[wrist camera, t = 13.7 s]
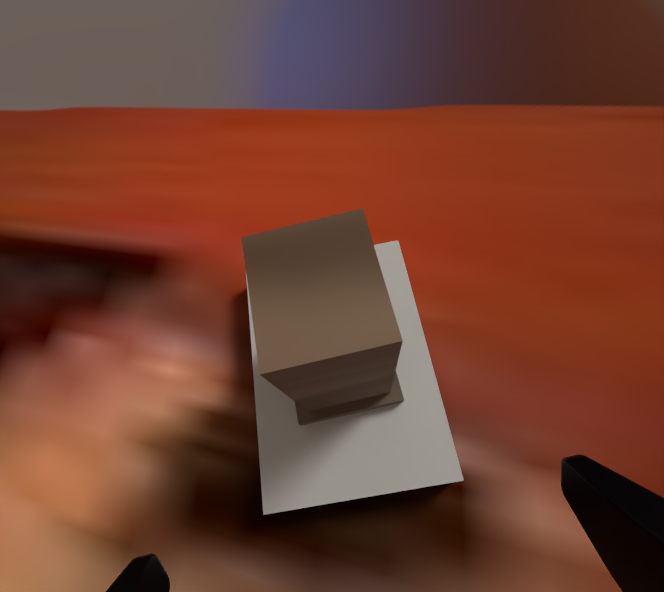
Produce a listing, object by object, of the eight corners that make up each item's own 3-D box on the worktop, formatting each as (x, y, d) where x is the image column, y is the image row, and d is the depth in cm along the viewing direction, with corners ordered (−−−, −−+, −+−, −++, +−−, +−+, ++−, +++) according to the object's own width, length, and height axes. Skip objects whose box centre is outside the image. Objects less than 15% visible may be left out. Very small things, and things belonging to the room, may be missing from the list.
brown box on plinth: (403, 401, 20) (427, 351, 11) (301, 425, 20) (241, 395, 11) (374, 301, 23) (375, 193, 14) (283, 322, 23) (223, 229, 14)
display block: (455, 478, 20) (463, 480, 18) (273, 510, 21) (263, 514, 19) (396, 255, 26) (398, 240, 24) (254, 282, 26) (245, 269, 24)
